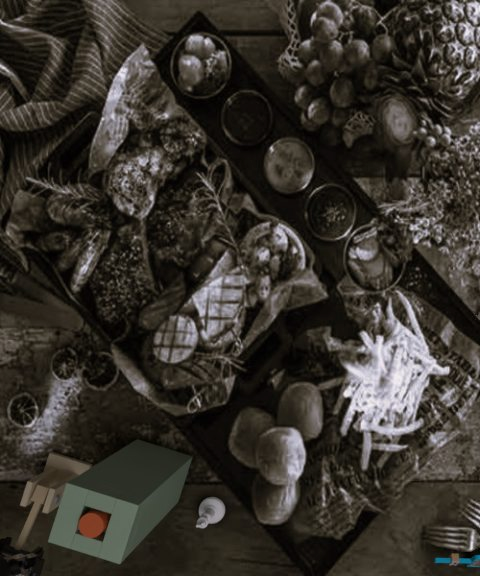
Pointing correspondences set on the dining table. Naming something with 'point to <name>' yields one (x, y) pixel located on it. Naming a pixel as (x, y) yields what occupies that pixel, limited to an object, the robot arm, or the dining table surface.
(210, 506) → the chess piece
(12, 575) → the robot arm
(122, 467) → the button post
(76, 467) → the switch bracket
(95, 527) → the button
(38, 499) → the lever
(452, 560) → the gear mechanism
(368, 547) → the dining table surface
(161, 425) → the dining table surface
